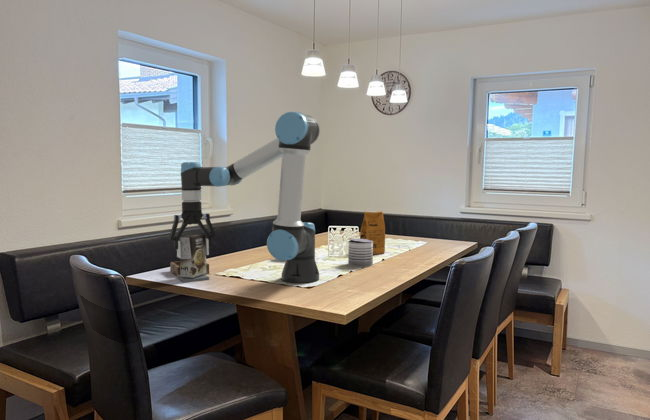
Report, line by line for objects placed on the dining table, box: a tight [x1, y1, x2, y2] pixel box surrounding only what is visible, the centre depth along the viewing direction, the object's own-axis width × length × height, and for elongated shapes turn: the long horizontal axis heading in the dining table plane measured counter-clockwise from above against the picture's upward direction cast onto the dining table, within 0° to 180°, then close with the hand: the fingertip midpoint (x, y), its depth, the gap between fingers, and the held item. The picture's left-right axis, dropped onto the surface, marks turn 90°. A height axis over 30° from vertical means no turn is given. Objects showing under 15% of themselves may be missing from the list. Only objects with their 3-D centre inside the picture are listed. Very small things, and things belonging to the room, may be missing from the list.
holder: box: [169, 260, 210, 277], centre depth 207 cm, size 13×13×4 cm
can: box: [347, 237, 374, 268], centre depth 225 cm, size 11×11×12 cm
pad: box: [176, 274, 210, 283], centre depth 196 cm, size 10×10×1 cm
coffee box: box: [179, 233, 207, 278], centre depth 195 cm, size 9×6×16 cm
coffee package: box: [359, 211, 386, 255], centre depth 255 cm, size 10×12×22 cm
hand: (193, 255), depth 195 cm, fingers closed on coffee box, 11 cm apart
